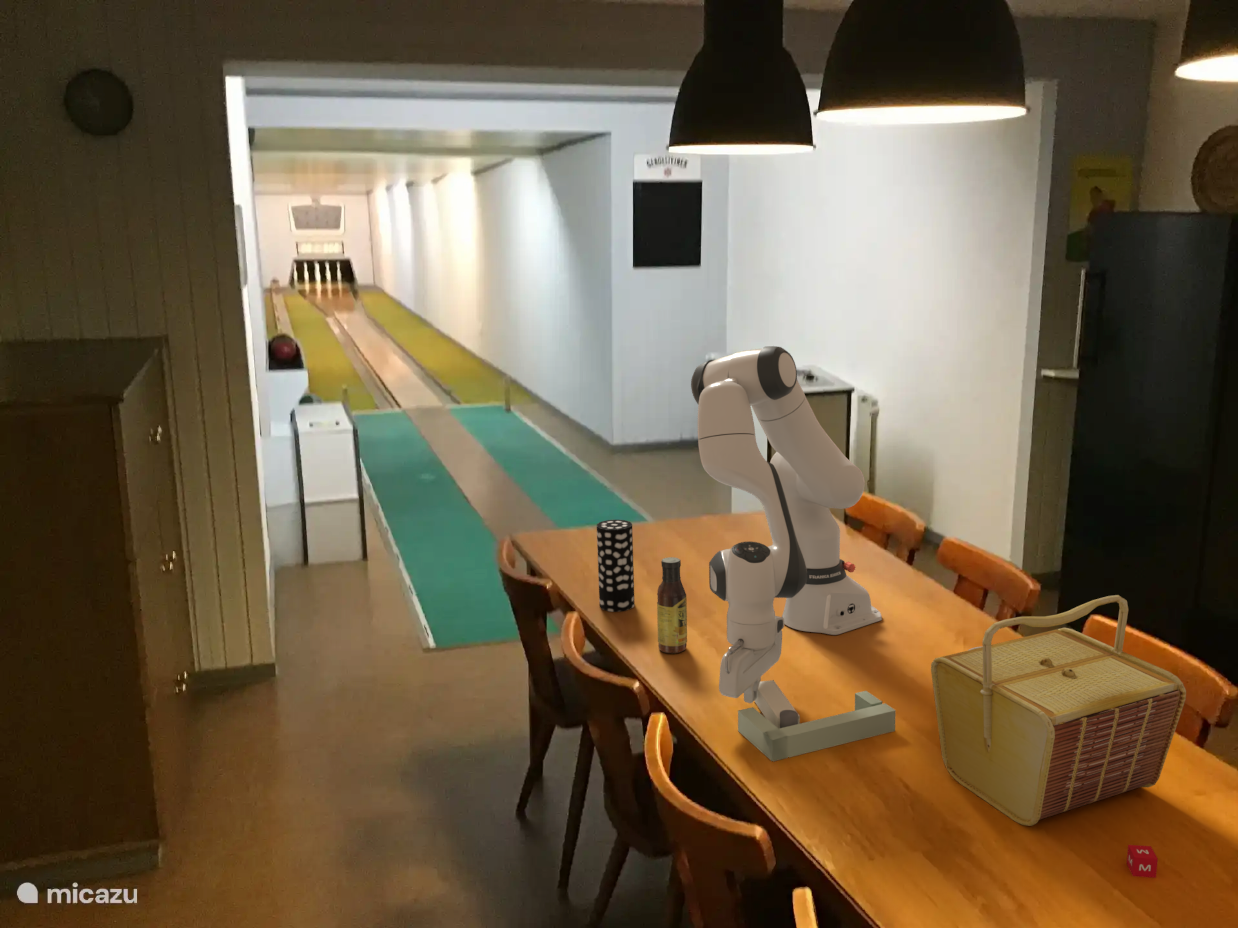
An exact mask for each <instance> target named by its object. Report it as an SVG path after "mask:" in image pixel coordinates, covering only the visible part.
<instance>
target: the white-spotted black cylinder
mask: <svg viewBox="0 0 1238 928" xmlns="http://www.w3.org/2000/svg"><path fill="white" fill-rule="evenodd" d="M633 540H634V539H633V523H632V522H631V521H629V520H624V519H607V520H602V521H600V522H598V523H596V544H597V547H596V548H597V568H598V569H597V570H598V572H597V573H598V575H597V576H598V597H599V599H598V600H599V608H600V609H601V610H604V611H607V612H613V613H614V612H616V613H618V612H625V611H628V610H631V609H633V608H635V577H634V576H635V574H634V572H635V571H634V542H633Z"/></svg>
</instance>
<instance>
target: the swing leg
mask: <svg viewBox="0 0 1238 928" xmlns="http://www.w3.org/2000/svg"><path fill="white" fill-rule="evenodd" d="M753 702H755V704H756V705H757V708H758V709H759V710H760V712H761V714H762V715H763V716H764V717H765V718H766V719H768V720H769V721H770V722H771V723H772V724H774V725H775V726H776V727H777V728H778V729H780V728H784V727H788V726H792V725H796V724H801V722H800V721H801V717H800V714H799V713H798V712H797V710H796V708H795V707H794V706H793V704H792V703H791V702H790V700H789V699H788V697H787V696H786V695H785V694H784V692H783V691H782V689H781V688H780V687H779V686H778V684H777V683H776V682H775V680H774V679H773V680H772V679H769V680H763V681H762V680H761V681H760V684H759V688H758V697H757V699H756V700H754V701H753Z"/></svg>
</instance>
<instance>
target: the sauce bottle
mask: <svg viewBox="0 0 1238 928" xmlns="http://www.w3.org/2000/svg"><path fill="white" fill-rule="evenodd" d="M660 563H661V567H662V578H661V579H662V581H661V583H660V584H659V586H658V588H657V594H656V595H657V601H656V611H657V613H656V615H657V616H656V617H657V642H658V645H657V646H658V649H659V650H660V651H661V652H662V653H665V654H678V653H682V652H684V651H685V650H686V649H687V646H688V645H687V643H688V618H687V617H688V610H687V607H688V605H687V598H688V597H687V593H686V591H685V588H684V585H683V583H682V579H681V566H682V565H681V564H682V563H681V559H680V558H678V557H675V556H674V557H672V556H671V557H670V556H669V557H664V558H662V559H661V561H660Z"/></svg>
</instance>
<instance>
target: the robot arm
mask: <svg viewBox="0 0 1238 928" xmlns="http://www.w3.org/2000/svg"><path fill="white" fill-rule="evenodd" d="M797 378H798V371H797V365H796V362H795V360H794V358H793V356H792V355H791V353H790V352H788V351H787V350H786V349H785V348H783V347H782V346H774V345H773V346H764V347H762V348H754V349H753V348H751V349H746V350H742V351H736V352H734V353H731V354H729V355H725V356H722V357H719V358H716V359H710V360H707V361H704V362H703V363H701V364H700V365H698V366H696V368H695V370H694V371H693V375H692V377H691V380H690V381H691V382H690V387H691V388H690V389H691V394H692V396H693V398H694V399H693V400H694V401H695V402H696V404H697V405H698V407H697V408H698V409H697V441H698V442H697V444H698V452H699V458H700V462H701V466H702V467H703V470H704V471H705V472H706V473H707V474H708V475H709V477H711V478H712V479H713V480H715V481H717V482H718V483H721V484H723V485H726V486H728V487H732V488H735V489H738V490H740V491H744V492H747V493H748V494H751V495H752V496H754V497H755V498H756V499H758V500H759V501H760V503H761V505H762V507H763V512H764V514H765V518H766V522H767V526H768V529H769V533H770V537H771V540H772V544H771V545H769V546H767V545H765V544H763V543H762V542H757V541H748V540H747V541H741V542H738V543H736V544H734V545H733V546H731V547H730V548H726V549H723V550H719V551H716V553H715V554H714V555H713V556H712V558H711V559H710V560H709V563H708V566H709V567H708V568H709V569H708V570H709V571H708V573H709V574H708V576H709V577H708V578H709V581H708V582H709V589H710V591H711V593H713V594H714V595H715V596H717V597H718V598H719V599H721V600H722V601H724V602H727V603H728V608H727V614H726V640H727V642H728V643H729V644H730V645H731V646H729V647H728V649H727V651H726V652H725V653H724V654H723V656H722V657H721V661H720V667H719V680H718V681H719V683H718V691H719V693H720V694H721V696H725V697H728V698H733V699H738V698H739V697H741V696H742V695H743V701H744V702H745V703H748V704H753V702H755V701H754V700H756V699H757V697H758V688H759V684H760V681H762V676H763V675H764V674H766V673H767V672H768V671H769V670H770V669H771V668H773V666H774V665H775V664H776V663H778V662H779V660H780V658H781V655H782V648H783V647H782V646H783V645H782V644H783V631H782V630H784V627H785V625H786V626H787V627H789V628H792V629H793V630H798V631H803V632H807V633H810V632H811V633H820V634H821V633H822V634H827V635H832V636H837V635H841V634H843V633H847V632H850V631H853V630H855V629H860V628H862V627H865V626H868V625H871V624H873V623H877V622H880V621H882V619H883V618H882V612H881V611H879V610H878V609H877V608H876V607H874V606H873V605H872V602H871V597H870V594H869V591H868V590H867V589H866V588H865V587H864V586H863V585H861V584H860V583H859V582H857V581H856V580H854V579H853V578H851V576H849V575H847V572H848V573H854V572H855V570H856V565H855V564H854V563H852V562H850V561H846V562H845V560H843V559H841V557H840V556H841V555H840V554H841V545H840V544H841V530H840V525H839V524H838V522H837V520H836V519H835V517H834V516H833V514H832V512H831V509H849V508H851V507H853V506H855V505H856V504H857V503H858V502H859V501H860V500H861V498H862V496H863V493H864V491H865V485H866V482H865V481H866V480H865V476H864V473H863V472H862V470H861V469H860V467H858V466H857V465H855V464H854V463H853V462H852V461H850V460H849V459H848V458H847V457H846V455H845V454H844V453H843V452H842V450H841V449H840V448H839V447H838V445H836V444H835V442H834V441H833V440H832V439H831V437H830V436H829V435H828V433H827V432H826V430H825V429H824V428H823V427H822V425H821V424H820V422H819V421H818V418H817V417H816V415H815V413H814V410H813V409H812V407H811V404H810V403H809V400H808V399H807V397H806V395H805V392H804V390H803V388H802V386H801V384H800V383H799V381H798V379H797ZM752 410H753V411H752ZM753 412H754V415H755V416H756V419H757V420H758V423H759V424H760V426H761V428H762V431H763V432H764V435H765V437H766V438H767V440H768V442H769V444H770V446H771V447H772V448H773V450H774V451H775V453H774V454H773V455H772V457H771V459H770V462H769V461H767V460H766V458H764V456H763V455H762V453H761V451H760V449H759V447H758V443H757V440H756V439H757V438H756V431H755V430H756V429H755V422H754V421H755V420H754V417H753ZM846 571H847V572H846ZM777 598H779V599H780V598H781V599H785V605H784V609H783V611H782V615H781V616H777V615H776V612H775V609H774V601H775V599H777Z"/></svg>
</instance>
